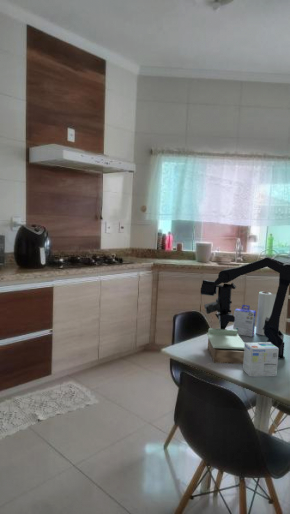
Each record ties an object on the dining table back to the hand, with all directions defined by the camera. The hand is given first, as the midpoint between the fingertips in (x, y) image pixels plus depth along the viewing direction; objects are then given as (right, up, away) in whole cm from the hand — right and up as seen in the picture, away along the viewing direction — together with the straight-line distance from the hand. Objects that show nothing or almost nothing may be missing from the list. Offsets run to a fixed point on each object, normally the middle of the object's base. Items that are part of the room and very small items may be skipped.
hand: (222, 331), depth 154 cm
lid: (0, -2, -9) cm, 9 cm away
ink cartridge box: (+15, -6, +19) cm, 25 cm away
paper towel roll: (+25, -6, +20) cm, 32 cm away
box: (-1, -8, -11) cm, 13 cm away
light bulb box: (+8, -10, -26) cm, 29 cm away
